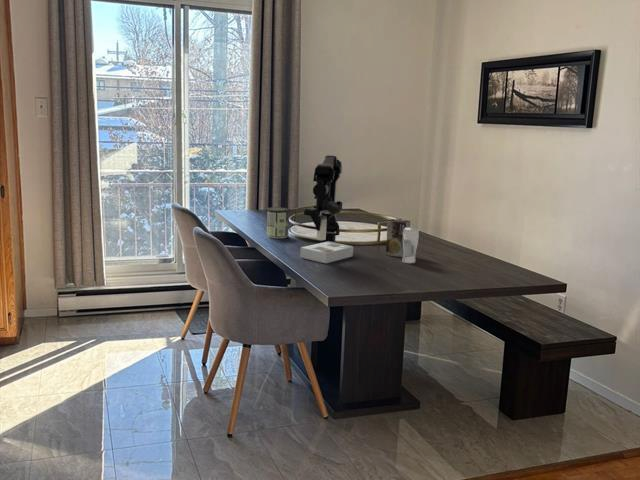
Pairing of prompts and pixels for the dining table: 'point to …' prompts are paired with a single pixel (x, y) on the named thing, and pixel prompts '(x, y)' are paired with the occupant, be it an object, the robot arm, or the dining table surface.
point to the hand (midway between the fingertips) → (321, 230)
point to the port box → (326, 252)
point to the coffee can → (277, 222)
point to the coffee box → (395, 237)
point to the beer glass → (410, 244)
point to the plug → (322, 229)
